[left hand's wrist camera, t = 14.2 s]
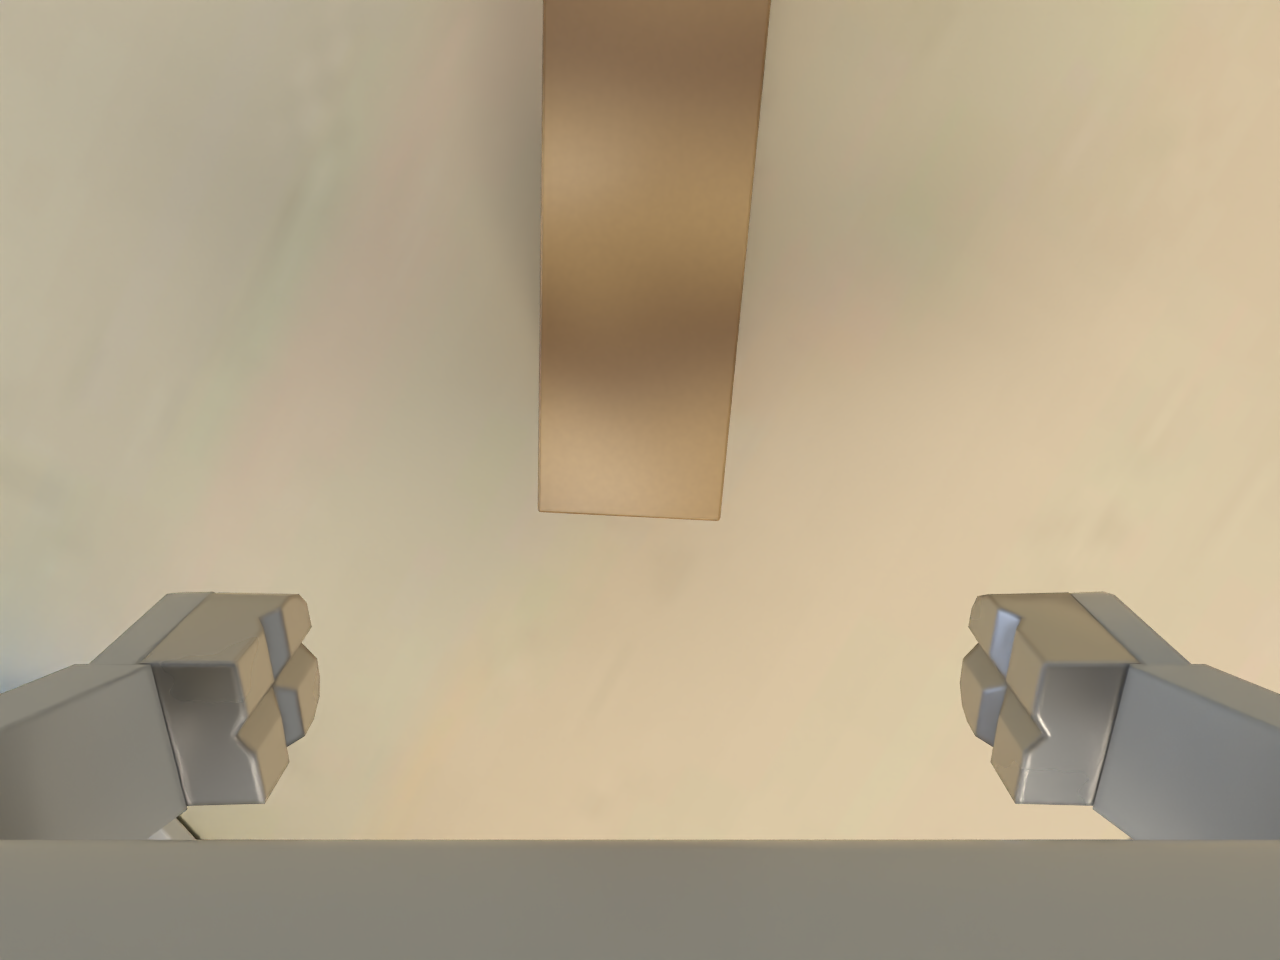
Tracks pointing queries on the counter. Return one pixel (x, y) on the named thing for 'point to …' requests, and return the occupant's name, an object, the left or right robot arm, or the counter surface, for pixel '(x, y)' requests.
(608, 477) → the bar
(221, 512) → the counter surface
